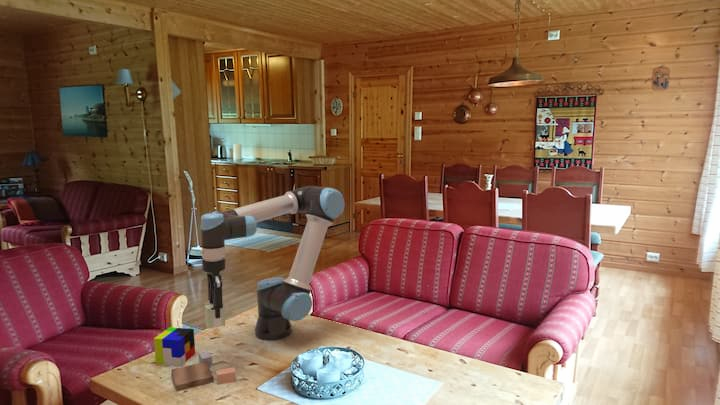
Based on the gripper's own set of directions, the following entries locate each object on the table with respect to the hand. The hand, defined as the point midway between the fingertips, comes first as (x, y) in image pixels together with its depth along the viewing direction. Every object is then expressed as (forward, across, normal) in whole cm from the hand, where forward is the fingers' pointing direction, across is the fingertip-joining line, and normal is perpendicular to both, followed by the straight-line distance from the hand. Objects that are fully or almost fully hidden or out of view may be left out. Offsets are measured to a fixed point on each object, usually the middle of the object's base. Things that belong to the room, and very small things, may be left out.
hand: (216, 323), depth 168 cm
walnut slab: (+18, +1, -9) cm, 20 cm away
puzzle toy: (+18, -17, -12) cm, 27 cm away
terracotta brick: (+18, +8, +1) cm, 19 cm away
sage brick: (0, 0, 0) cm, 1 cm away
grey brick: (+18, -8, -3) cm, 20 cm away
